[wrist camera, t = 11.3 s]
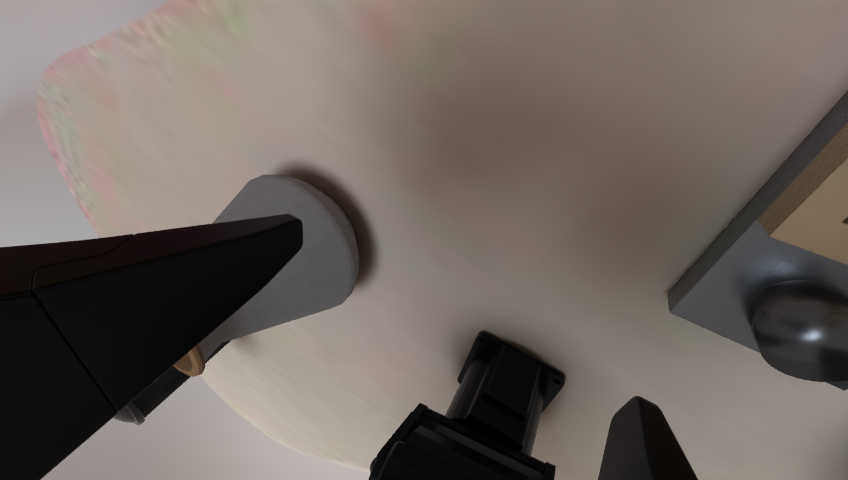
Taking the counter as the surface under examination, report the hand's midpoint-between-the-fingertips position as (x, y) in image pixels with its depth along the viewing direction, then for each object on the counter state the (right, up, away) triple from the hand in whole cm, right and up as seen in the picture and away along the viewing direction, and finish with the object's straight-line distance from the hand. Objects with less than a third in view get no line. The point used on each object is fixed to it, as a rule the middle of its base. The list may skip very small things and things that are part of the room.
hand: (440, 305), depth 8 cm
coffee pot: (-13, +1, +23) cm, 26 cm away
